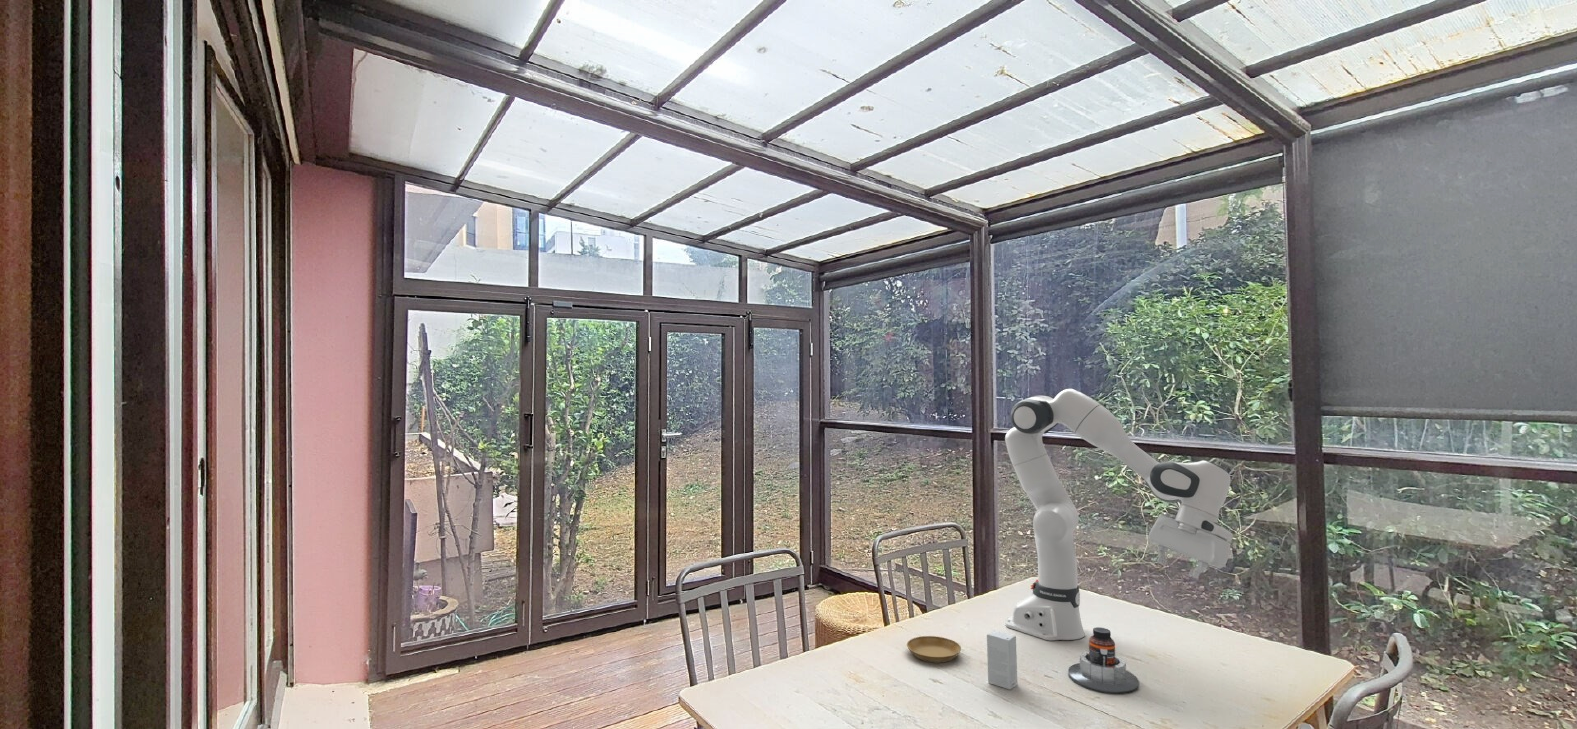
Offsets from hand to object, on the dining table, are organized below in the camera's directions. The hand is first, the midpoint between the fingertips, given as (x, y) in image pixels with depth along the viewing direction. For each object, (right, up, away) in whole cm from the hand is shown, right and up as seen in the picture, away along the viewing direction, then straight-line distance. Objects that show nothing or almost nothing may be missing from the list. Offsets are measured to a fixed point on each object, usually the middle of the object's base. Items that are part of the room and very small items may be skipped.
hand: (1176, 570), depth 171 cm
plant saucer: (-62, -27, +9) cm, 68 cm away
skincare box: (-49, -26, -9) cm, 56 cm away
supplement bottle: (-23, -25, -7) cm, 34 cm away
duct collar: (-23, -25, -7) cm, 35 cm away
